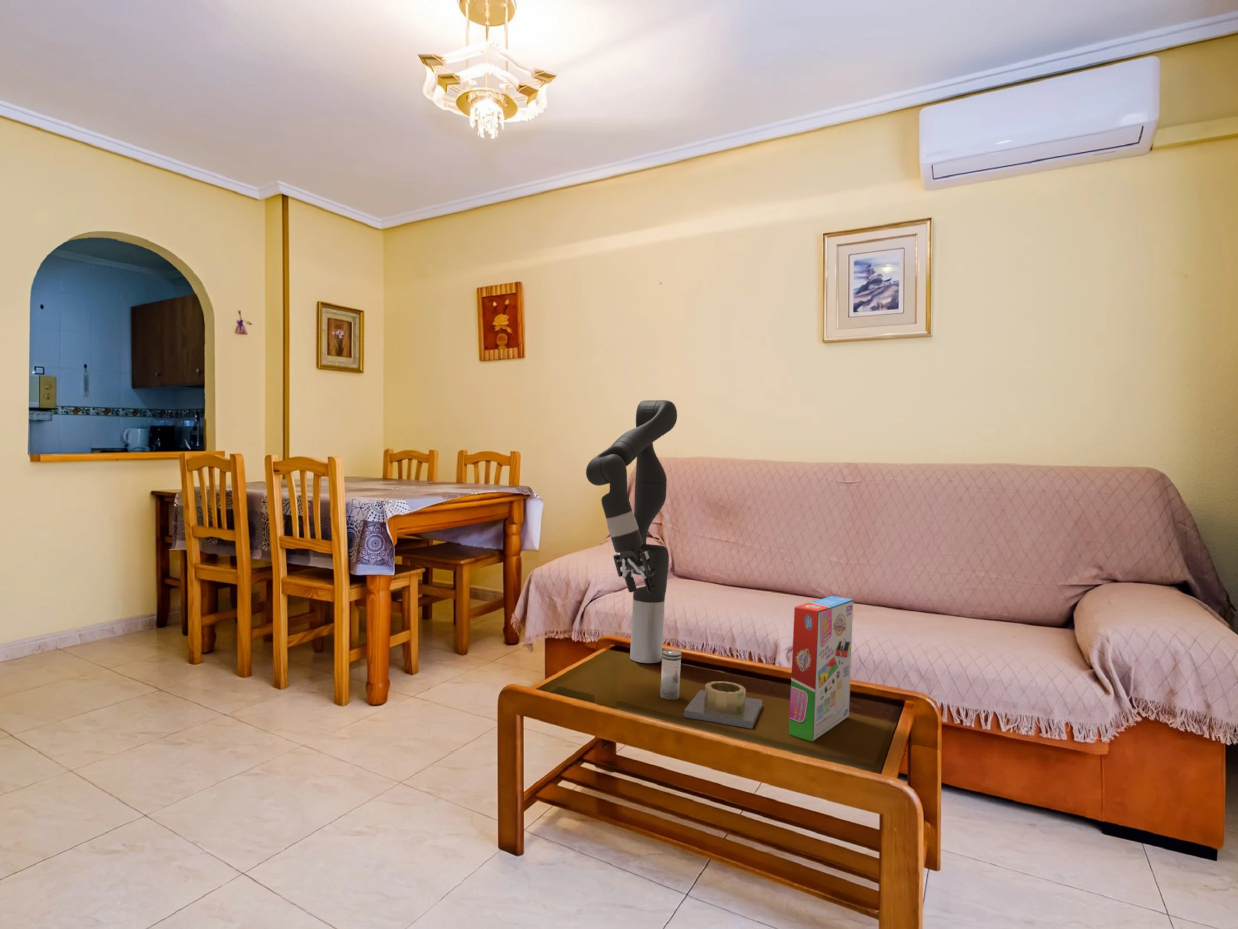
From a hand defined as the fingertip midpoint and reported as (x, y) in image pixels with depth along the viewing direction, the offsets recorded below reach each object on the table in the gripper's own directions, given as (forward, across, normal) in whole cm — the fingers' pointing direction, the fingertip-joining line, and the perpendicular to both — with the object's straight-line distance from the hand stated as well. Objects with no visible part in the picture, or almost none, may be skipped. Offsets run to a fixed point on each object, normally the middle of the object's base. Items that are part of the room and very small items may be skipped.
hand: (642, 591), depth 172 cm
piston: (+24, -9, +7) cm, 26 cm away
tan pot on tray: (+28, -22, +2) cm, 36 cm away
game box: (+35, -38, -10) cm, 52 cm away
